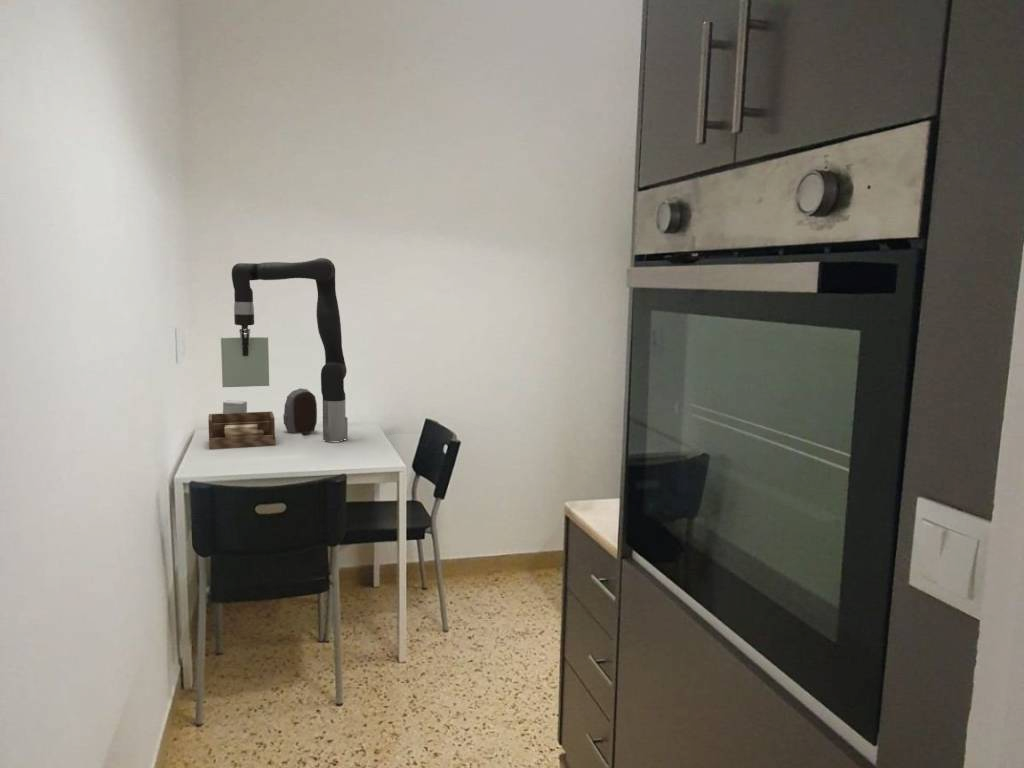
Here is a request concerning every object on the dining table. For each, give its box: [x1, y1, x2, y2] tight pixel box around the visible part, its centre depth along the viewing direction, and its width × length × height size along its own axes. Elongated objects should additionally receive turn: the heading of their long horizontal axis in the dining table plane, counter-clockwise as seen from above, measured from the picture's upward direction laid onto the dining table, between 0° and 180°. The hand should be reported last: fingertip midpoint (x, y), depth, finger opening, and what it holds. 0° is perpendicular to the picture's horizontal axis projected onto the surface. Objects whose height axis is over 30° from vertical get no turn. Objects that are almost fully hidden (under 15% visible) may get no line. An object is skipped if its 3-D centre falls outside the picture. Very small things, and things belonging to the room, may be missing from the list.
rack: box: [207, 410, 276, 450], centre depth 288 cm, size 24×14×12 cm, turn 112°
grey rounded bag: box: [282, 387, 318, 435], centre depth 313 cm, size 15×8×20 cm, turn 136°
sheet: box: [220, 336, 270, 388], centre depth 297 cm, size 18×2×20 cm, turn 112°
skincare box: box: [222, 400, 248, 413], centre depth 306 cm, size 8×6×15 cm
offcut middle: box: [225, 430, 264, 438], centre depth 286 cm, size 14×5×2 cm, turn 115°
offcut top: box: [224, 424, 258, 434], centre depth 285 cm, size 12×5×2 cm, turn 109°
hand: (245, 355), depth 297 cm, fingers closed on sheet, 2 cm apart
